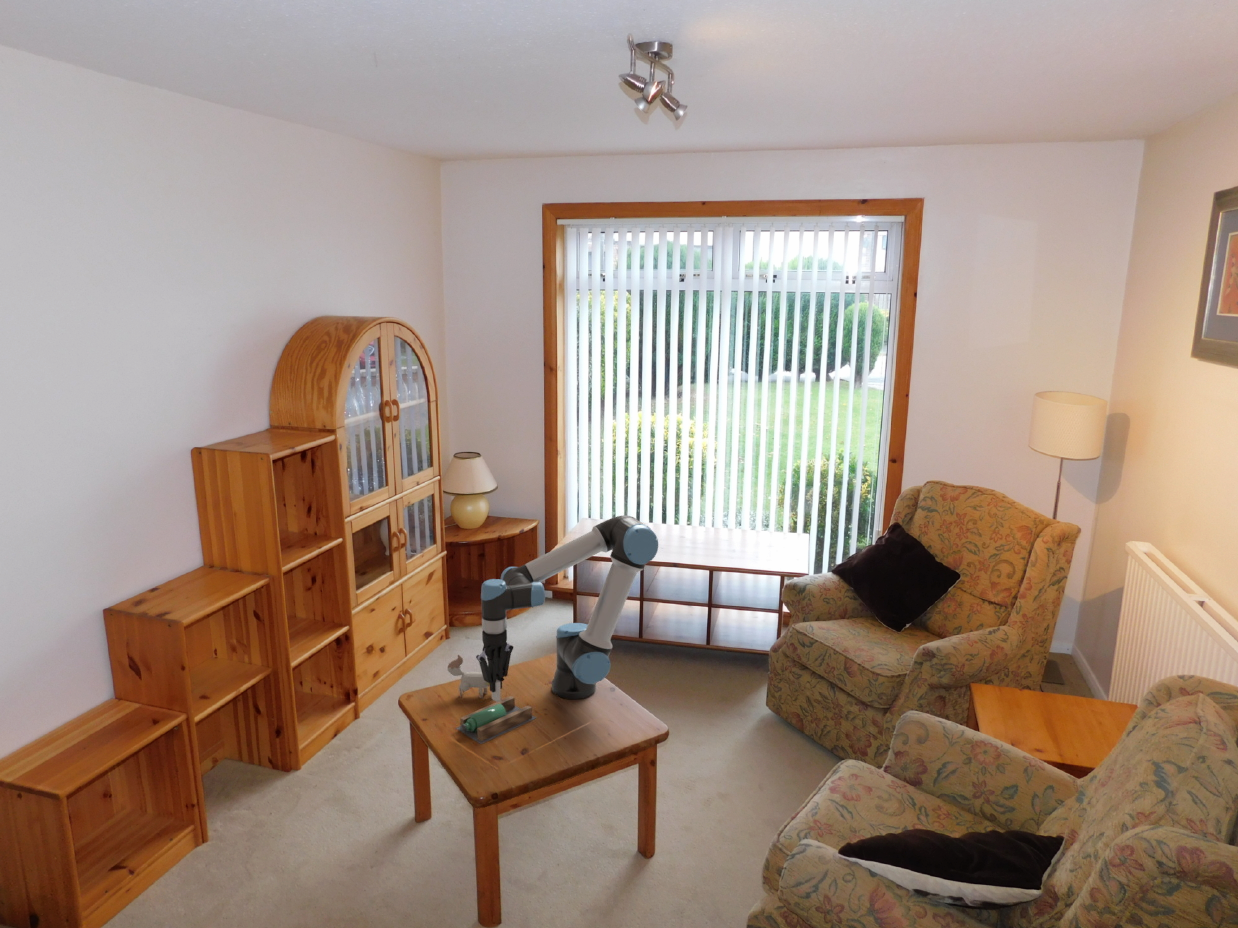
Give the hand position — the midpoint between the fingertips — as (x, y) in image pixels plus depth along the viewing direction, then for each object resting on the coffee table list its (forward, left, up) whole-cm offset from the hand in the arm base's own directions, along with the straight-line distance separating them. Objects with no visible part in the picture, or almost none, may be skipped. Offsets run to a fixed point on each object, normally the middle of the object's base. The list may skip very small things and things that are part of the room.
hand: (496, 699), depth 260 cm
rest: (0, 0, -8) cm, 8 cm away
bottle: (-2, -1, -5) cm, 6 cm away
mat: (0, 0, -8) cm, 8 cm away
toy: (-6, -19, -9) cm, 22 cm away
